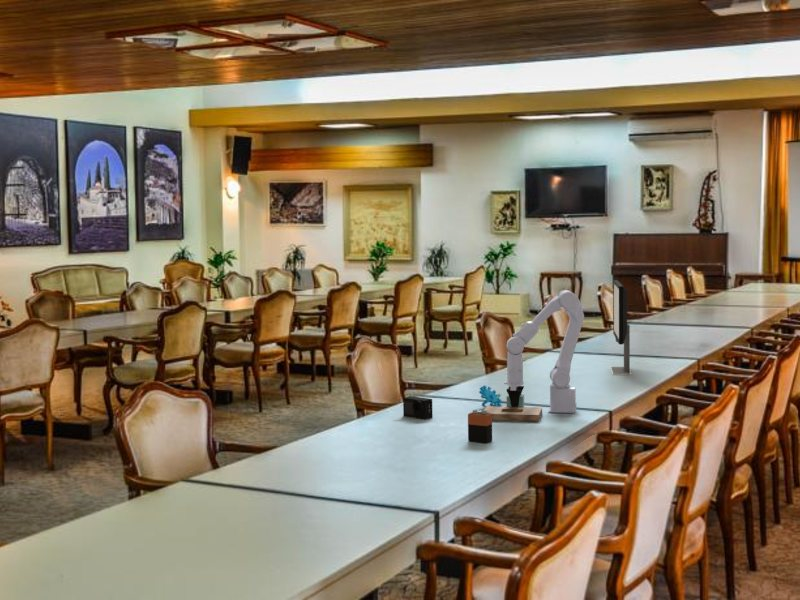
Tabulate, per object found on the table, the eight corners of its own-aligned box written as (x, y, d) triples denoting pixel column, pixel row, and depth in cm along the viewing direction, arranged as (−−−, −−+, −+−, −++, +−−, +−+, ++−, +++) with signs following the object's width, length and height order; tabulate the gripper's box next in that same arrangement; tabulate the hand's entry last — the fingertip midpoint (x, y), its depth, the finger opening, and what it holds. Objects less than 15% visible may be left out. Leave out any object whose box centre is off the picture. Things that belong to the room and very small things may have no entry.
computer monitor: (608, 364, 497) (608, 280, 493) (626, 364, 496) (626, 279, 492) (613, 378, 456) (613, 286, 453) (633, 378, 455) (633, 286, 452)
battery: (486, 443, 333) (486, 412, 333) (467, 441, 337) (467, 410, 336) (492, 441, 337) (492, 410, 336) (474, 439, 341) (473, 408, 340)
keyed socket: (542, 414, 379) (542, 407, 379) (538, 422, 366) (538, 414, 366) (486, 413, 384) (486, 406, 384) (481, 420, 370) (481, 413, 370)
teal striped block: (524, 410, 387) (524, 394, 386) (523, 412, 383) (523, 396, 382) (507, 410, 388) (507, 393, 388) (506, 412, 384) (506, 395, 384)
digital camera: (400, 417, 380) (400, 397, 379) (410, 414, 384) (410, 395, 383) (422, 420, 373) (422, 400, 372) (432, 418, 377) (432, 398, 376)
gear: (489, 405, 390) (476, 384, 395) (480, 415, 393) (467, 394, 398) (508, 405, 398) (496, 384, 403) (499, 414, 401) (486, 394, 406)
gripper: (506, 367, 392) (506, 403, 393) (501, 373, 378) (502, 410, 379) (525, 367, 391) (525, 403, 392) (521, 373, 377) (521, 410, 378)
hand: (515, 407), depth 385 cm, fingers closed on teal striped block, 4 cm apart
